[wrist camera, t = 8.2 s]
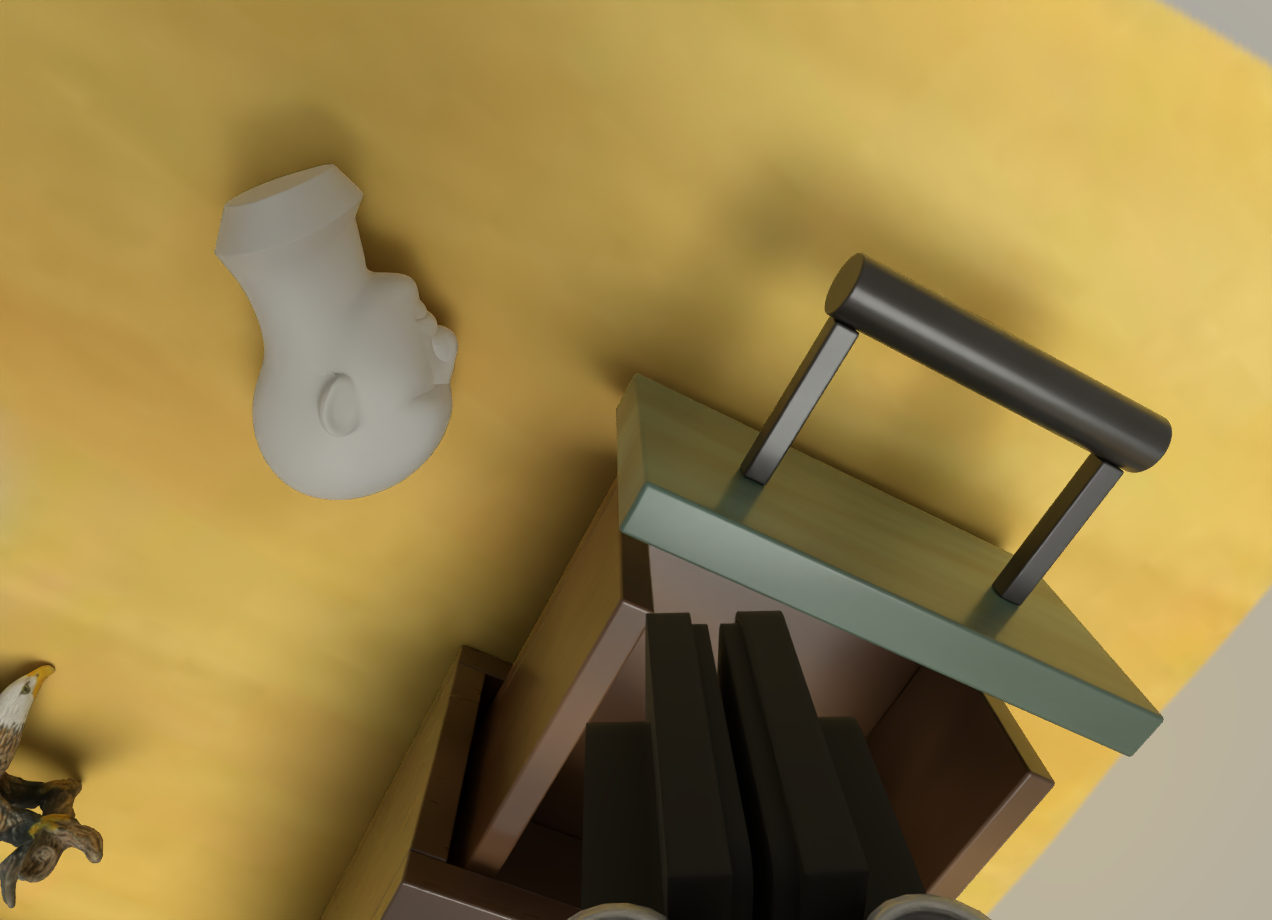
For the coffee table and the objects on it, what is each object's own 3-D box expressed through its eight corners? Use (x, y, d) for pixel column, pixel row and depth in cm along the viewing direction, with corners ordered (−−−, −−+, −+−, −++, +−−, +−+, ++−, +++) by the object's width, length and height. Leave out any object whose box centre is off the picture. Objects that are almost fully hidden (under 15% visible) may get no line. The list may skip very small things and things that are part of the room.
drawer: (737, 179, 21) (792, 221, 15) (1149, 404, 24) (1345, 521, 18) (421, 773, 28) (367, 976, 22) (769, 900, 31) (812, 1115, 24)
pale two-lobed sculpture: (461, 441, 26) (273, 473, 25) (421, 150, 23) (202, 166, 21) (489, 503, 22) (270, 545, 21) (446, 165, 19) (183, 186, 18)
